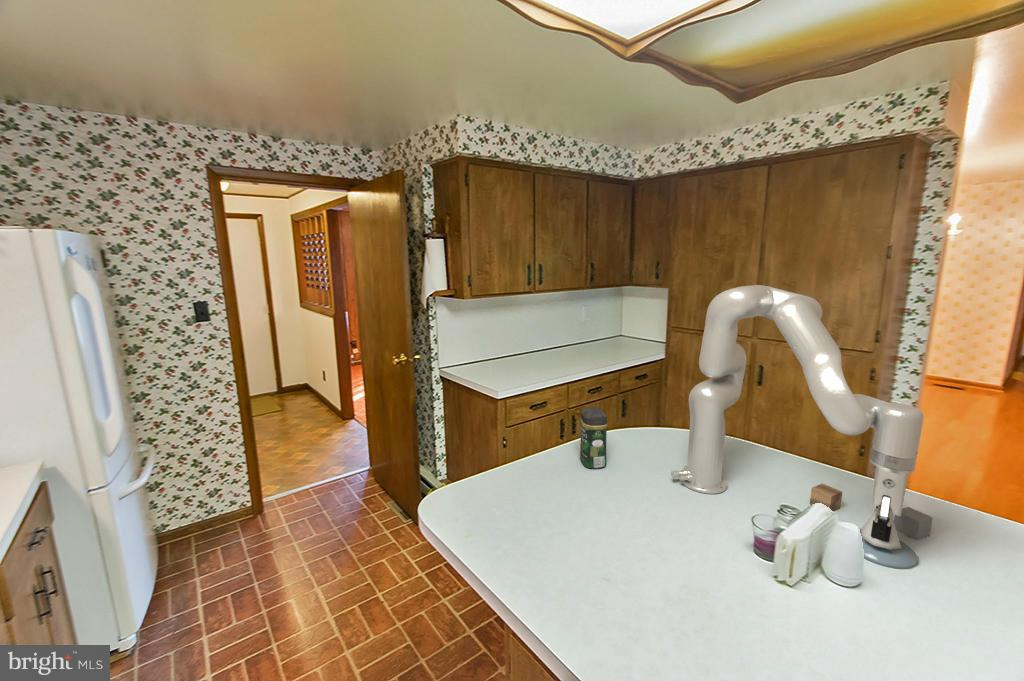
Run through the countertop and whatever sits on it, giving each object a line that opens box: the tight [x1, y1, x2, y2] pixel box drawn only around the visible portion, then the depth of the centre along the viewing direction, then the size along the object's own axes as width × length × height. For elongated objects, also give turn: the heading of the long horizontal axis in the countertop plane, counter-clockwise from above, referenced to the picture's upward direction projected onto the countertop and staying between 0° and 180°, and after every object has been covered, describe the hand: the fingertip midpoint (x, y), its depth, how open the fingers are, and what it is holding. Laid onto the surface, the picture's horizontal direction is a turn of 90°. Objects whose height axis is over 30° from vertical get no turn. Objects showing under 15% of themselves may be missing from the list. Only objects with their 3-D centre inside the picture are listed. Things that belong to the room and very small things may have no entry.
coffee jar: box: [579, 406, 608, 470], centre depth 144 cm, size 10×8×19 cm
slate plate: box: [859, 528, 919, 570], centre depth 101 cm, size 13×13×1 cm
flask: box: [860, 497, 901, 549], centre depth 100 cm, size 7×7×10 cm
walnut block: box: [809, 482, 843, 512], centre depth 119 cm, size 5×5×5 cm
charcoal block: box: [893, 506, 934, 542], centre depth 107 cm, size 5×5×5 cm
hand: (880, 532), depth 101 cm, fingers closed on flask, 5 cm apart
